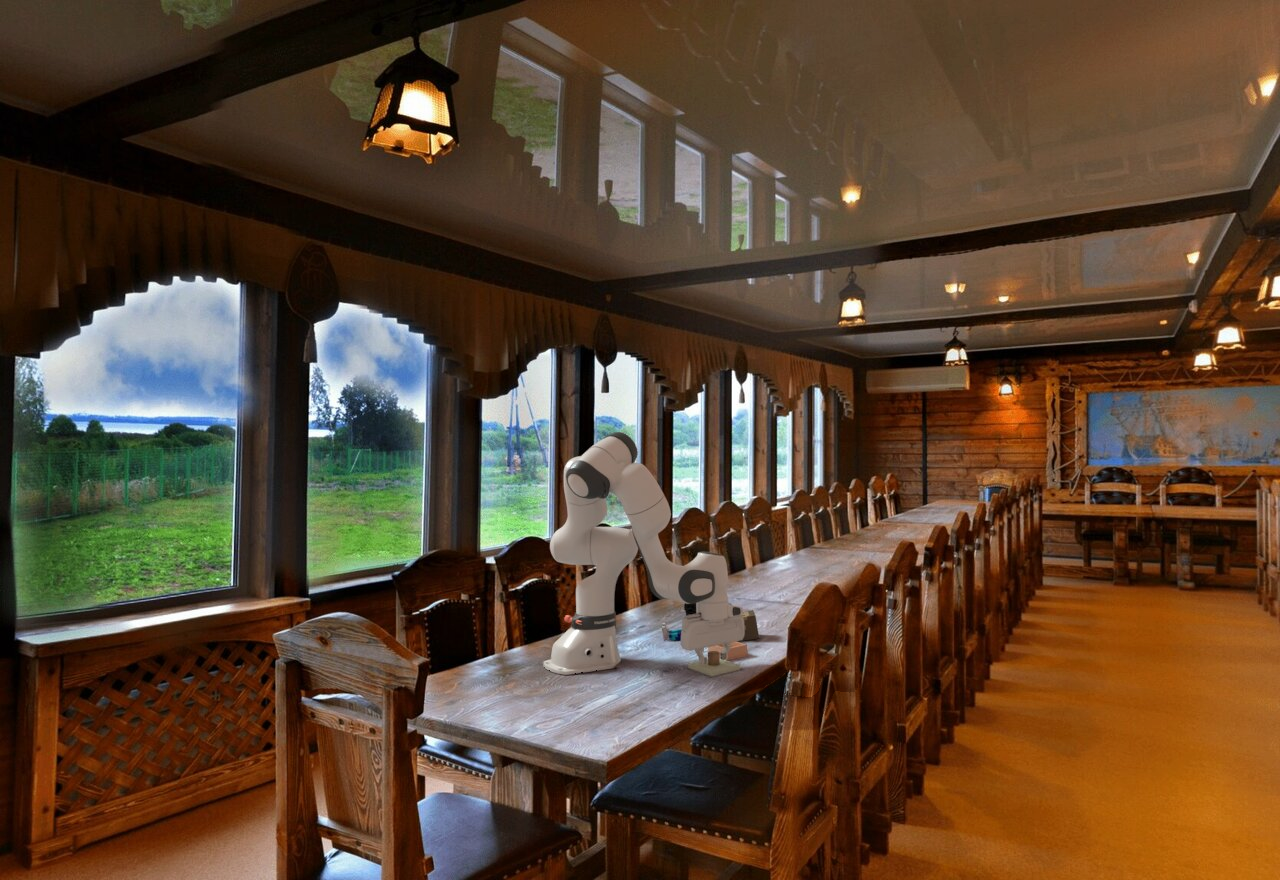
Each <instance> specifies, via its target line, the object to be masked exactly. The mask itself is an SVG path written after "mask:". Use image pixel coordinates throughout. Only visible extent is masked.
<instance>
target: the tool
mask: <svg viewBox="0 0 1280 880" xmlns="http://www.w3.org/2000/svg"><path fill="white" fill-rule="evenodd" d="M683 604H684V605H683V609H684V611H685V617H686V616H687V615H692V614H696V603H693V604H687V603H683Z"/></svg>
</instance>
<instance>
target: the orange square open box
mask: <svg viewBox="0 0 1280 880" xmlns="http://www.w3.org/2000/svg"><path fill="white" fill-rule="evenodd" d="M722 649H723V645H722V644H720V645H716V646H711V647H707V653H708V652H709V651H718V652H719V658H720V652H722ZM744 657H748V644H746V643H742V642H741V641H735V642H731V647H730V649H729V652H728V659H725V660H726V661H731V660H735V659H740V658H744Z"/></svg>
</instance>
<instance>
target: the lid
mask: <svg viewBox="0 0 1280 880" xmlns="http://www.w3.org/2000/svg"><path fill="white" fill-rule="evenodd" d="M687 667H688V668H690V669H693V670H696V671H698V672H701V673H704V674H707V675H710V676H715V675H719V674H723V673H727V672H731V671H735V670H740V668H741V665H740V664H737V663H735V662H732V661H730V660H727V661H726V660H722V659H720V658H719V652H718V651H709V652H708V651H707V663H706V664H700V663H699V660H698V661H697V660H696V661H693V662H689V663H687Z"/></svg>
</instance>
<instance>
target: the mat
mask: <svg viewBox="0 0 1280 880" xmlns="http://www.w3.org/2000/svg"><path fill="white" fill-rule="evenodd" d="M683 669H685V670H688V671H691V672H693V673H696V674H698V675H702V676H704V677H707V678H711V679H712V678H716V677H717V678H718V677H721V676H725V675H729V674H733V673H738V672H741V671H744V670H746V669H744V668H742V667H740V670H735V671H731V672H727V673H723V674H719V675H715V676H710V675H707V674H704V673H701V672H698V671H696V670H693V669H690V668H688V666H685V667H683Z"/></svg>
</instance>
